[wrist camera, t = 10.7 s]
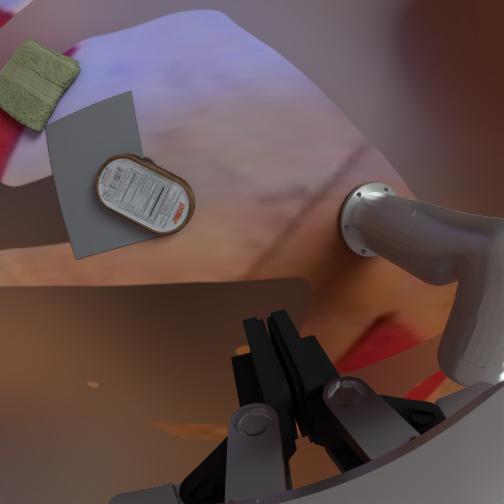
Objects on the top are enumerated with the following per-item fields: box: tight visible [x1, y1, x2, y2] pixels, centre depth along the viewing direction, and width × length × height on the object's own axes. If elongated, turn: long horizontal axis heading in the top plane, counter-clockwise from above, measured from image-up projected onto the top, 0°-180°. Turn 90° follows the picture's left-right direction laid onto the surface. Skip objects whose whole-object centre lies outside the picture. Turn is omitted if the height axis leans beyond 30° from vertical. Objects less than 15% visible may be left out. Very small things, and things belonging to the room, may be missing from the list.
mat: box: [46, 91, 163, 259], centre depth 35 cm, size 15×22×1 cm
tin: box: [95, 153, 195, 235], centre depth 36 cm, size 15×3×8 cm
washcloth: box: [0, 38, 81, 132], centre depth 26 cm, size 13×18×3 cm
